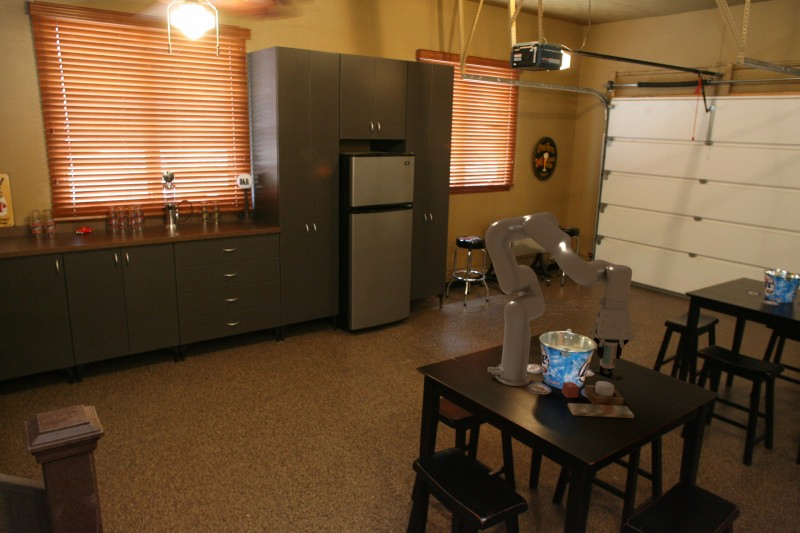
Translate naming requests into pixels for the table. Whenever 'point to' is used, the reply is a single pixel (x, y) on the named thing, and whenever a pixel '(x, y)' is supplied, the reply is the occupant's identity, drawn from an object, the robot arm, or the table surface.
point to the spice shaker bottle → (609, 354)
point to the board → (600, 410)
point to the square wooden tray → (601, 399)
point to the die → (570, 389)
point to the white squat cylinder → (604, 389)
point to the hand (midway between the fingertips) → (608, 356)
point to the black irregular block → (606, 372)
